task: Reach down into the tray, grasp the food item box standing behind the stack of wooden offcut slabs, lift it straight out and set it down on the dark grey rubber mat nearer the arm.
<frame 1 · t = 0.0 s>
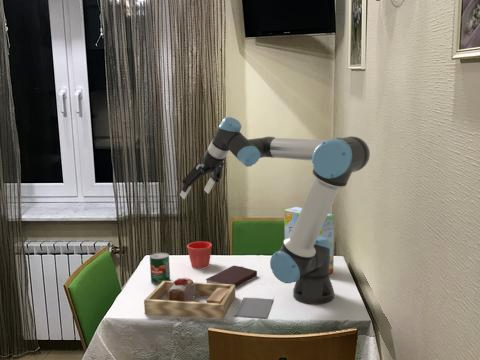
hand: (194, 194, 208), 36 cm above the table, tool tilted 35°, fingers open, 13 cm apart
flower pot: (200, 266, 231), on the table
snack box: (308, 269, 223), on the table
canned tomato: (160, 281, 213), on the table
tray: (191, 305, 187), on the table
mat: (254, 308, 184), on the table
food item: (182, 305, 188), resting in tray
offcut stack: (218, 306, 185), resting in tray
book: (231, 282, 212), on the table
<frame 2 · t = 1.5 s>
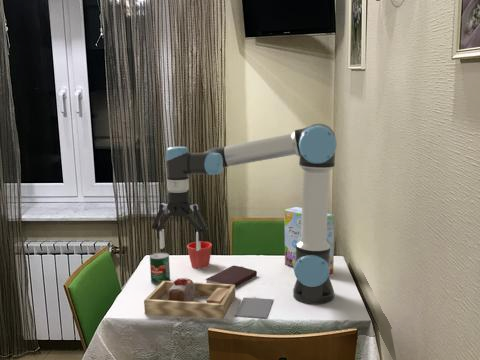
hand: (180, 248, 185), 21 cm above the table, tool pointing down, fingers open, 13 cm apart
nothing on the table moved.
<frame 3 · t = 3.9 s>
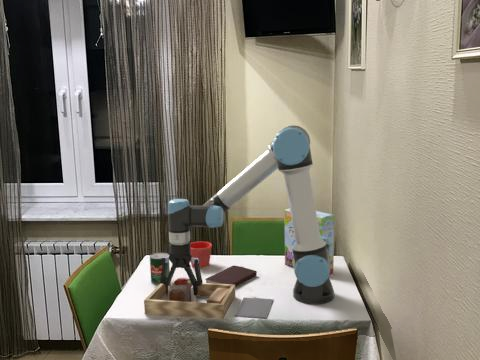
hand: (182, 302, 188), 1 cm above the table, tool pointing down, fingers closed on food item, 8 cm apart
food item: (182, 305, 188), resting in tray, touching gripper
everything else where it was.
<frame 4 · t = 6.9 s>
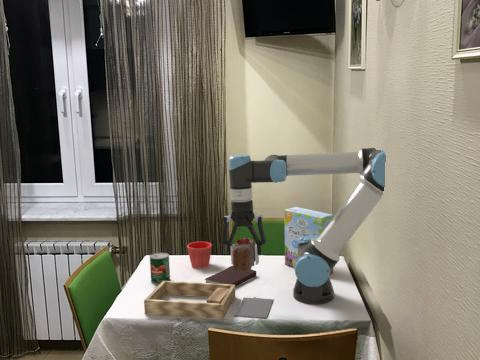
hand: (245, 263, 181), 17 cm above the table, tool pointing down, fingers closed on food item, 8 cm apart
food item: (245, 266, 181), point 16 cm above the table, touching gripper
everything else where it was.
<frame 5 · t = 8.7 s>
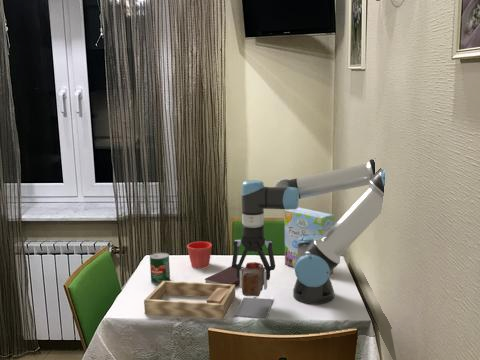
hand: (253, 287, 182), 8 cm above the table, tool pointing down, fingers closed on food item, 8 cm apart
food item: (253, 290, 182), point 7 cm above the table, touching gripper
everything else where it was.
when the fingers open (3 cm above the table, at t = 9.9 s): food item drops 2 cm, resting on mat.
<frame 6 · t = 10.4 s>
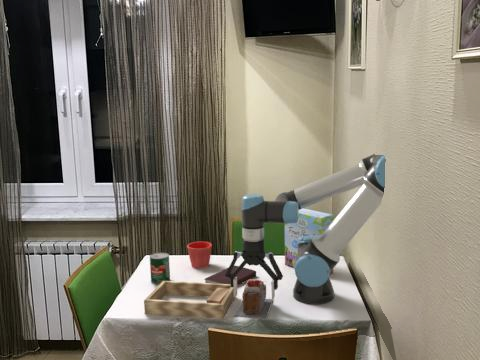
hand: (254, 296, 183), 4 cm above the table, tool pointing down, fingers open, 13 cm apart
food item: (254, 307, 184), resting on mat
everything else where it was.
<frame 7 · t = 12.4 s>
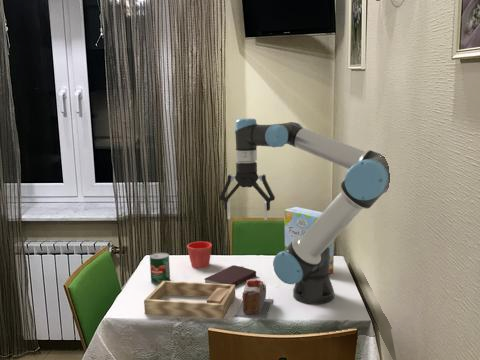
hand: (247, 218, 190), 30 cm above the table, tool pointing down, fingers open, 13 cm apart
nothing on the table moved.
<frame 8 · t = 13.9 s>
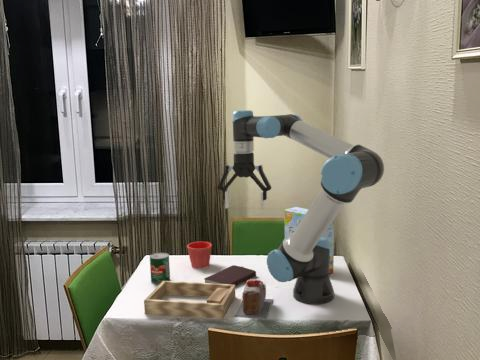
hand: (244, 208, 195), 33 cm above the table, tool pointing down, fingers open, 13 cm apart
nothing on the table moved.
at the end: food item inside the target area (0.0 cm from its centre), resting on mat; food item tilted 0°; the gripper is holding nothing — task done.
